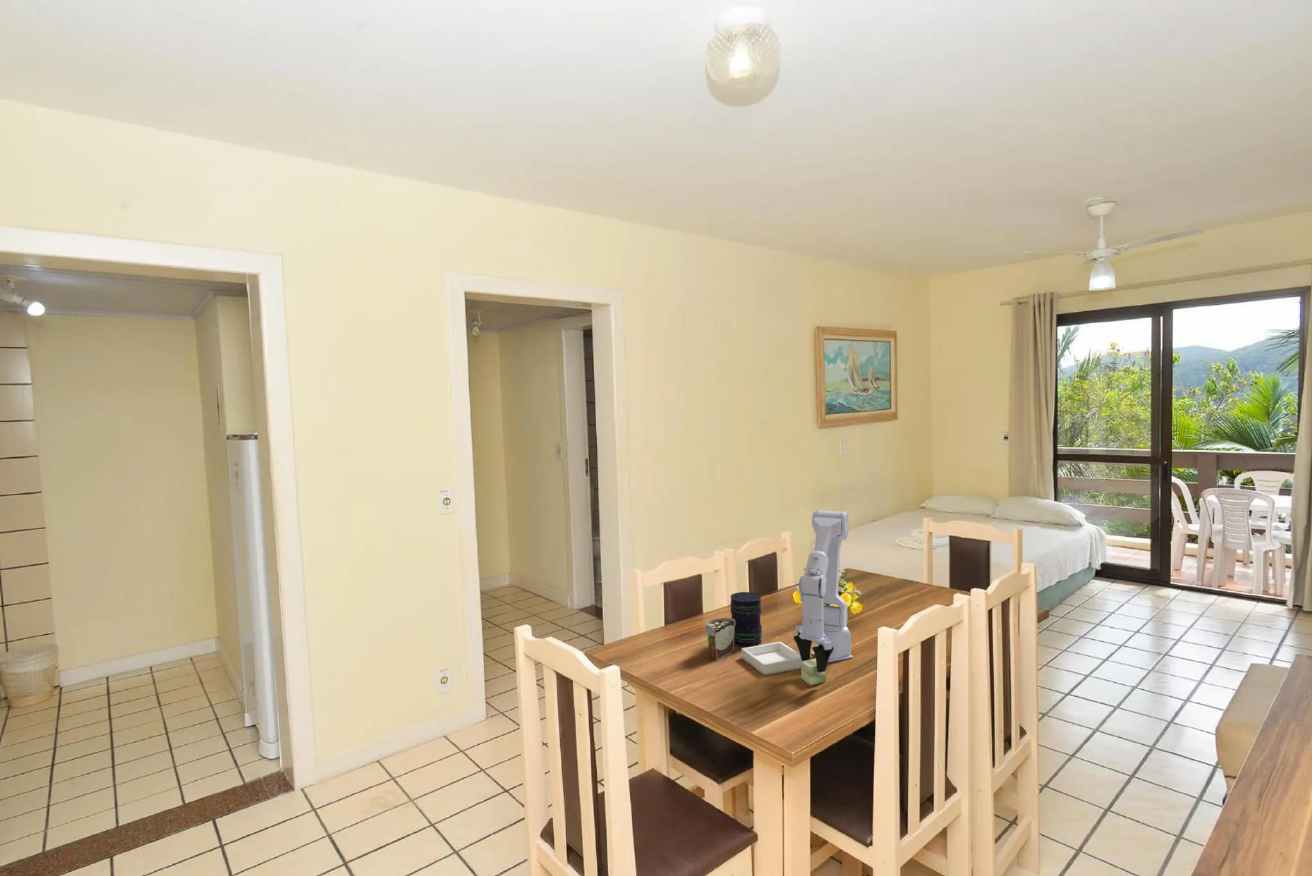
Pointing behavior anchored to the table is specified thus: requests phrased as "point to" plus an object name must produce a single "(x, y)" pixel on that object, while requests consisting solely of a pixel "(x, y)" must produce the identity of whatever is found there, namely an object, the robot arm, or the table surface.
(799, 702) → the table surface
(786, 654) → the grey tray
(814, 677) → the green block
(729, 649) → the food container
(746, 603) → the storage jar
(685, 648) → the table surface
